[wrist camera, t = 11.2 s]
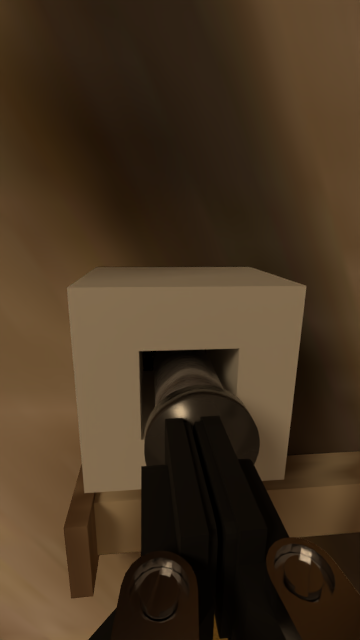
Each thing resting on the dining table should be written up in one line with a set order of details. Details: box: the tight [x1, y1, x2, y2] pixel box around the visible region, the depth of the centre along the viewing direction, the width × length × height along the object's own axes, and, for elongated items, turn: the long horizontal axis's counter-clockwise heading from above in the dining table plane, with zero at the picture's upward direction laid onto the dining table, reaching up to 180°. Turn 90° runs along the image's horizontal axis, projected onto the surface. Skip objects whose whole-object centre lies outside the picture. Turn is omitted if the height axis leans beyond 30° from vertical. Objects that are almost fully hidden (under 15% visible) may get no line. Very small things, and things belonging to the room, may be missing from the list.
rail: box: [64, 451, 360, 598], centre depth 21 cm, size 24×5×5 cm, turn 89°
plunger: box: [144, 349, 260, 466], centre depth 13 cm, size 4×4×7 cm
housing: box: [67, 267, 306, 493], centre depth 16 cm, size 9×9×7 cm
